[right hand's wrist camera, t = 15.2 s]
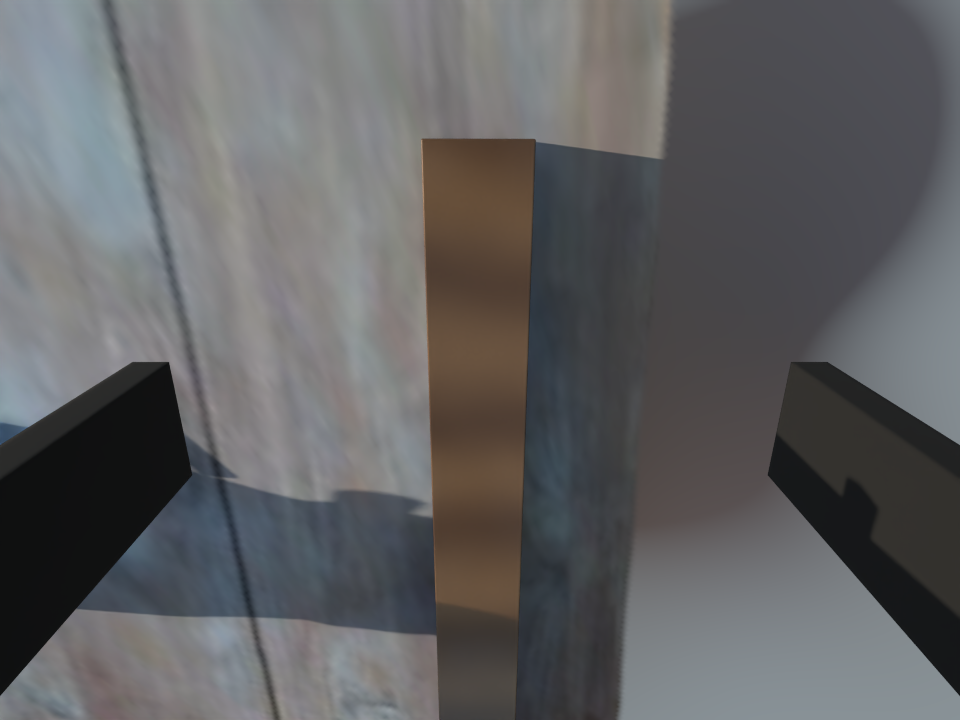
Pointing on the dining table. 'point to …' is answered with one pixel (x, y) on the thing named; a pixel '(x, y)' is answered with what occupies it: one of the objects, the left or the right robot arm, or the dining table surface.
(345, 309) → the dining table surface
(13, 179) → the dining table surface
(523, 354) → the bar
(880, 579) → the right robot arm
